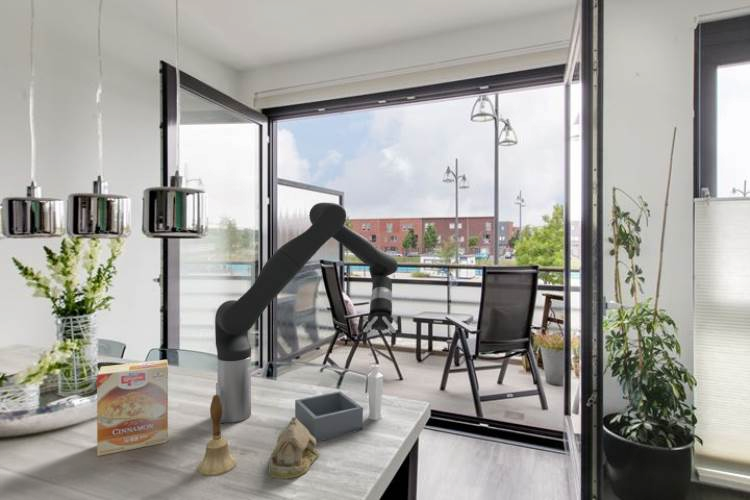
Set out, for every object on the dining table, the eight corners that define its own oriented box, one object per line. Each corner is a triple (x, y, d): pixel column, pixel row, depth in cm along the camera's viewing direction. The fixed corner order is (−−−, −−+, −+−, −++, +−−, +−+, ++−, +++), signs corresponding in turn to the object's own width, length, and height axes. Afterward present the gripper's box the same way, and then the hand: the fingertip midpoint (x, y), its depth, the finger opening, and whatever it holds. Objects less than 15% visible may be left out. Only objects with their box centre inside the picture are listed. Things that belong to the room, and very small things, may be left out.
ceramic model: (276, 446, 102) (276, 406, 102) (321, 447, 102) (321, 407, 102) (260, 479, 88) (260, 433, 87) (313, 480, 88) (313, 433, 88)
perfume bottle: (381, 421, 116) (381, 368, 116) (366, 420, 117) (366, 367, 117) (384, 414, 121) (384, 363, 120) (369, 413, 121) (370, 362, 121)
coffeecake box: (96, 457, 96) (95, 374, 96) (100, 443, 102) (100, 365, 102) (168, 443, 103) (168, 365, 103) (167, 431, 109) (167, 358, 109)
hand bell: (197, 479, 87) (197, 405, 87) (197, 460, 95) (197, 391, 95) (238, 471, 91) (238, 399, 90) (235, 453, 98) (235, 387, 98)
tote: (314, 442, 104) (314, 418, 104) (295, 421, 116) (295, 400, 116) (362, 429, 111) (362, 407, 111) (340, 411, 123) (340, 391, 123)
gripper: (359, 296, 139) (355, 338, 128) (402, 297, 138) (401, 339, 127) (361, 309, 144) (357, 350, 133) (402, 310, 143) (401, 351, 132)
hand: (378, 345), depth 130 cm, fingers open, 8 cm apart
